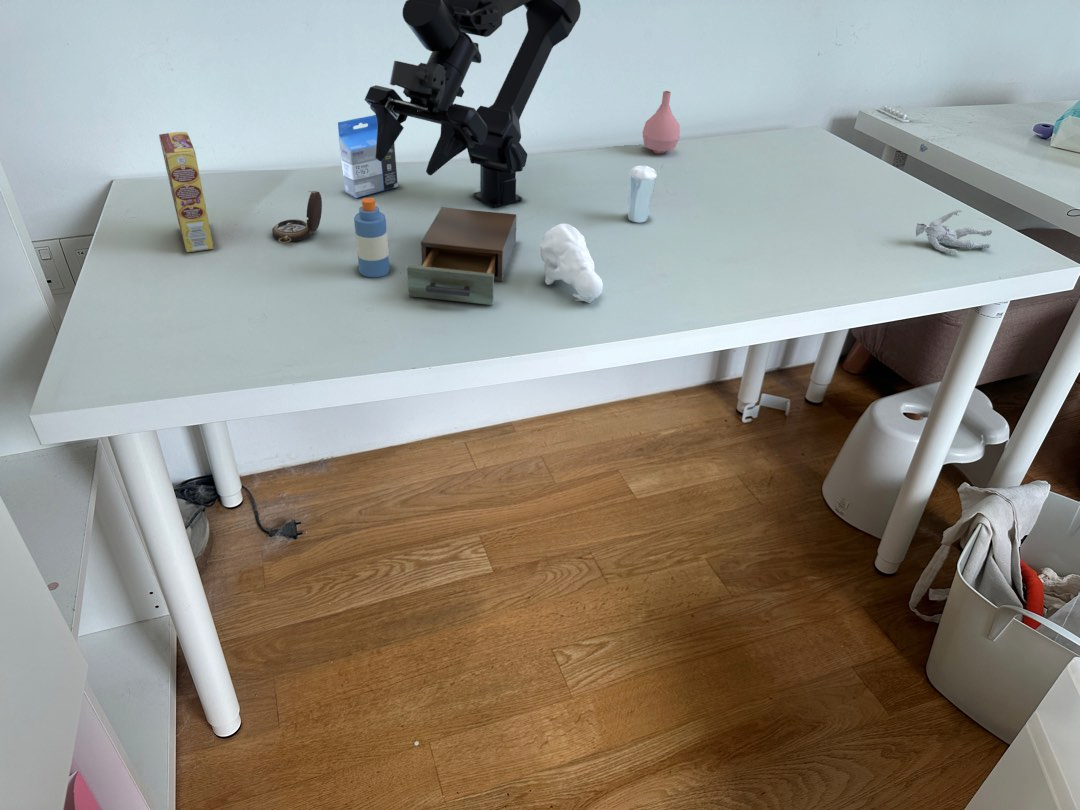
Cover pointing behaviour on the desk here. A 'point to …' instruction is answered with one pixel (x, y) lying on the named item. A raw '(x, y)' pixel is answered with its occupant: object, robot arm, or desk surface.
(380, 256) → the glue bottle
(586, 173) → the desk surface
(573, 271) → the white animal figurine
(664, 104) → the pink vase
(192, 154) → the candy box
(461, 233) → the drawer unit
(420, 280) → the drawer
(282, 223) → the compass
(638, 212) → the milkshake
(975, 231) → the soldier figure
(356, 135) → the label tape box
